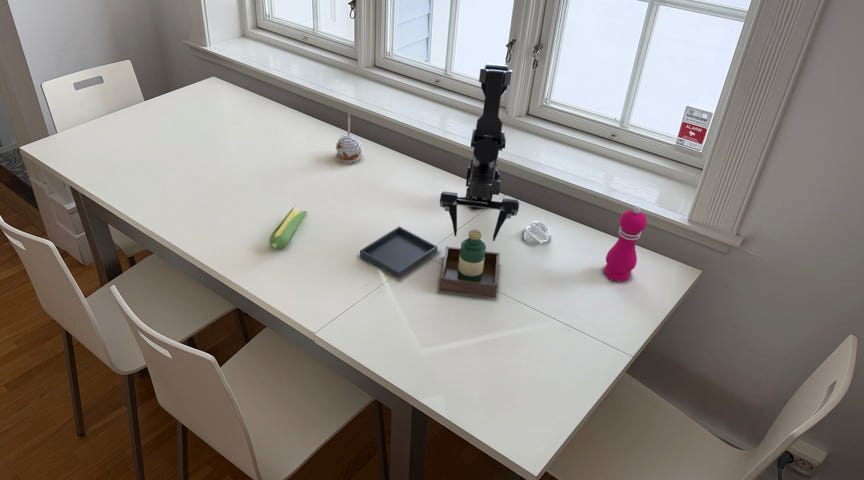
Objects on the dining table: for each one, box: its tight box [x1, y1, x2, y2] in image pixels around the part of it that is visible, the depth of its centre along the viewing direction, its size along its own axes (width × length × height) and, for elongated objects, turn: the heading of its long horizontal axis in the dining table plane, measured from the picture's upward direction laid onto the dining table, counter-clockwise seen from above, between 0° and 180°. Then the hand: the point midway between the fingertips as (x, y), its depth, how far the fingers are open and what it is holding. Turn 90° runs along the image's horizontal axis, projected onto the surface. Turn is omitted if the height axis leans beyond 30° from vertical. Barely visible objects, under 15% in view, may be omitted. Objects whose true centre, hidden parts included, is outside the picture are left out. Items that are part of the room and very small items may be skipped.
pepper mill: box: [603, 205, 648, 282], centre depth 161 cm, size 7×7×20 cm
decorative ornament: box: [335, 113, 363, 164], centre depth 205 cm, size 8×8×15 cm
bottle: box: [457, 229, 487, 282], centre depth 159 cm, size 6×6×13 cm
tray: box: [359, 226, 439, 279], centre depth 170 cm, size 15×13×2 cm
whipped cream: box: [523, 220, 551, 244], centre depth 177 cm, size 8×7×5 cm
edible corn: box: [268, 206, 308, 250], centre depth 176 cm, size 5×20×5 cm, turn 164°
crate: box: [438, 245, 501, 299], centre depth 162 cm, size 13×13×4 cm
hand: (474, 238), depth 159 cm, fingers open, 9 cm apart
